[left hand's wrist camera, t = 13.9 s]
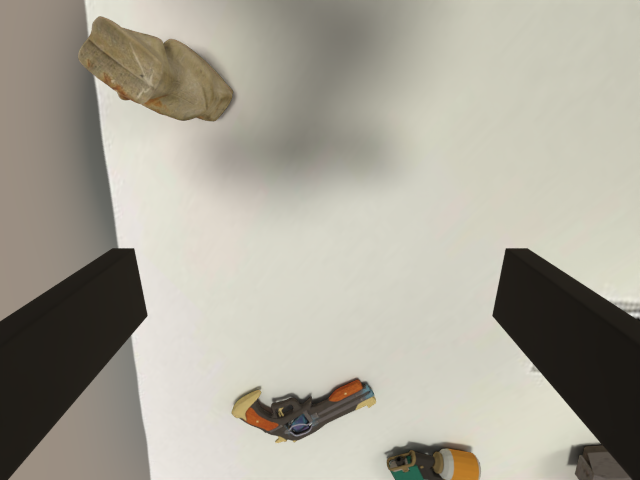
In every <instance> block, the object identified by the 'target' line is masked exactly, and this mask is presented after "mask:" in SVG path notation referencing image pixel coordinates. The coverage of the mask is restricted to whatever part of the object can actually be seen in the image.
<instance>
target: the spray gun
mask: <svg viewBox="0 0 640 480" xmlns="http://www.w3.org/2000/svg"><path fill="white" fill-rule="evenodd" d="M411 454H412V455H411ZM409 455H411V457H410V456H409ZM405 456H407V457H406V458H405ZM393 459H395V461H392V462H391V463H390V465H389V462H390V460H393ZM432 466H433V469H434V470H432V468H431V467H432ZM387 467H388V469H389V470H390V471H391V473H392V475H393V477H394V479H395V480H479V479H480V476H481V467H480V462H479V461H478V459H477V457H476V456H475V455H474V454H473V453H471V452H465V451H459V450H453V449H441V450H440V451H439V452H435V453H434V454H433V456H430V455H426V454H422V453H418V452H414V451H413V450H410V451H409V453H405V454H401V455H397V456H393V457H390V458H388V459H387Z"/></svg>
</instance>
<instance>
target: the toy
mask: <svg viewBox="0 0 640 480" xmlns="http://www.w3.org/2000/svg"><path fill="white" fill-rule="evenodd" d="M575 475H576V476H577V478H578V479H579V480H632V479H631V478H630V477H629V476H628V474H627V473H626V472H625V471H624V470H623V468H622V467H621V466H620V465H619V464H618V463H617V461H616V460H615V459H614V458H613V457H612V456H611V454H610V453H609V452H608V451H607V450H606V449H605V447H604V446H603V445H599V446H585V448H584V451H583V455H579V459H578V463H577V468H576V472H575Z"/></svg>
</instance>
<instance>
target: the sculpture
mask: <svg viewBox="0 0 640 480" xmlns="http://www.w3.org/2000/svg"><path fill="white" fill-rule="evenodd" d="M78 58H79V61H80V62H81V64H82V65H83V66H84V67H85V68H86V69H87V70H89V71H90V72H91V73H92V74H93V75H95V76H96V77H97V78H98V79H100V80H101V81H103V82H104V83H105V84H107V85H108V86H109V87H111V88H112V89H113V90H115V91H116V92H117V93H118V95H119V97H120V98H121V99H122V100H132V101H134V102H136V103H139V104H142V105H143V106H145V107H147V108H149V109H151V110H153V111H155V112H157V113H159V114H162V115H166V116H169V117H172V118H175V119H177V120H182V121H185V120H190V119H193V118H199V119H202V120H206V121H216V120H217V119H218V118H219V117H220V116H221V114H222V113H223V112H224V111H225V109H226V108H227V106H228V105H229V103H230V101H231V99H232V94H233V91H232V89H231V88H230V87H229V86H228V85H227V84H226V83H225V82H224V80H223V79H222V78H221V77H220V76H219V74H218V73H217V72H216V71H215V70H214V69H213V68H212V67H211V66H210V65H209V64H208V63H207V62H206V61H205V60H203V59H202V58H201V57H200V56H199V55H198V54H196V53H195V52H194V51H193V50H191V49H190V48H189V47H188V46H186V45H185V44H183V43H181V42H179V41H177V40H174V39H169V40H167V41H166V42H165V43H164V44H163V42H162V40H161V39H159V38H157V37H154V36H151V35H147V34H143V33H139V32H135V31H132V30H129V29H125V28H122V27H120V26H119V25H118V24H116V23H115V22H113V21H111V20H109V19H107V18H104V17H101V16H99V17H98V18H97V19H96V20H95V21H94V22H93V24H92V31H91V34H90V36H89V37H88V39H87V40H86V41H85V43H84V44H83V45H82V47H81V49H80V50H79V54H78Z"/></svg>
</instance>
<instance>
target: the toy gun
mask: <svg viewBox="0 0 640 480" xmlns="http://www.w3.org/2000/svg"><path fill="white" fill-rule="evenodd" d="M260 394H261V391H260V390H256V391H254V392H252V393H250V394H247V395H245V396H244V397H242V398H241V399H239V400H238V401H237V402H236V404H235V405H234V407H233V410H232V414H233V416H234V417H236V418H240V419H241V420H243V421H244V422H246V423H248V424H250V425H252V426H254V427H257V428H259V429H261V430H263V431H264V432H265V433H268V434H271V435H276V436H278V437H279V438H278V439H277V440H276V441H275V442H276V443H280V442H283V441H284V442H286V441H287V440H288V439H289V440H293V442H296V441H297V440H300V439H302V438H304V437H306V436H308V435H310V434H312V433H314V432H316V431H317V430H319V429H320V428H321V427H323V426H324V425H325V424H327V423H329V422H331V421H333V420H335V419H337V418H339V417H341V416H343V415H345V414H348V413H350V412H352V411H354V410H357V409H359V408H362V407H364V406H366V405H367V406H368V408H369V407H371V406H372V405H374V404H375V403H376V399H375V397H374V393H373V391H372V389H370V388H369V386H368V384H367V385H365V384H364V385H362V384H361V382H360V381H359V380H355V381H353V382H351V383H349V384H347V385H344V386H342V387H340V388H338V389H336V390H335V391H334V392H333V393H332V394H331V396H330V397H329V398H328V399H326V400H324V401H322V402H320V403H317V404H313V405H311V403H312V396H311V397H310V398H309V399H308V400H307V401H306V402H304V403H303V404H300V403H299V401H298V400H297V399H295V398H292V397H291V398H289V399H287V400H285V401H281V402H277V403H272V405H271V409H272V411H273V414H272V413H269V412H268V411H266V410H264V409H263V408H261V406H260V405H259V403H258V401H257V399H258V397H259V396H260ZM288 405H292V406H293V409H291V410H289V411H287V412H285V413H283V412H282V409H283V408H284V407H286V406H288ZM277 408H279V411H280V412H281V414H280V412H279V414H278V413H277V412H276V409H277ZM293 419H295V420H294V421H293V423H292V424H291V425H290V423H291V420H293ZM288 422H290V423H289V424H288ZM309 422H310V423H312V425H310V426H309V424H310V423H309ZM293 430H294V431H293Z"/></svg>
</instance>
